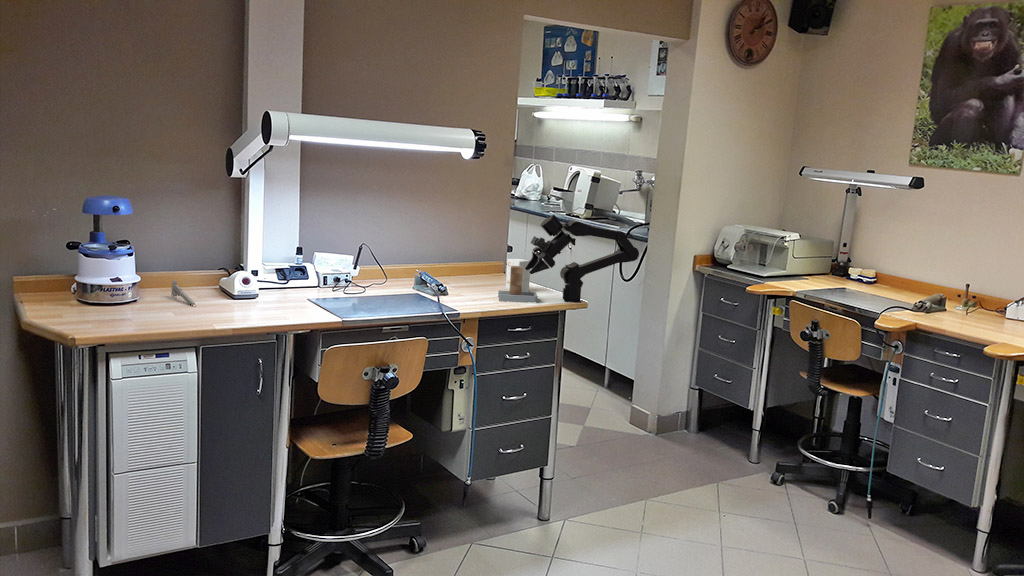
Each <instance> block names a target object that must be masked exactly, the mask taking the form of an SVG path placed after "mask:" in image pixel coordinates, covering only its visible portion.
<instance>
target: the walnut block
mask: <svg viewBox="0 0 1024 576" xmlns="http://www.w3.org/2000/svg"><path fill="white" fill-rule="evenodd" d="M522 275H523V267H522V266H511V272H510V290H508V291H509V295H521V292H522Z"/></svg>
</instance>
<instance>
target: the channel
mask: <svg viewBox="0 0 1024 576" xmlns="http://www.w3.org/2000/svg"><path fill="white" fill-rule="evenodd" d="M497 297H498V302H507V301H509V302H510V303H511V302H512V303H513V302H514V303H528V302H537V303H538V297H539V295H538V294H537V292H536V291H527V292H524V291H522V292H521V295H509V290H504V289H503V290H501V289H500V290H498V292H497Z"/></svg>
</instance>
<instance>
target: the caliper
mask: <svg viewBox="0 0 1024 576" xmlns="http://www.w3.org/2000/svg"><path fill="white" fill-rule="evenodd" d="M177 283H178V281H177V280H176V279H174V280H173V279H172V282H171V289H170V290H171V296H172V295H173V296H177V297H181V298H182V299H183V300H184V301H185V302H186V303H189V304H191V305H196V302H195V301H194V300H193V299H191V297H190V296H188V294H186V293H185V291H183V289H182V288H181V287H180V285H178V284H177ZM173 296H172V297H173ZM189 304H188V305H189ZM191 305H190V306H191Z"/></svg>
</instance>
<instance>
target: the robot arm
mask: <svg viewBox="0 0 1024 576" xmlns="http://www.w3.org/2000/svg"><path fill="white" fill-rule="evenodd" d="M540 227H541V228H542V229H543V230H544V231H545V233H546V234H547V235H548V236H549V237H552V236H553V238H552V239H551V240H547V241H546V239H545V238H544V237H537V236H535V235H533V238H531V241H530V244H531V245H533V246H535V247H534V248H533V249H532V251H531V258H530V260H528V261H529V263H528V264H527V266H526V267H525V269H526V270H529V269H530V272H529V273H530V275H534V274H537V273H539V272H543V271H545V270H549V269H552V268H553V267H554V266H556V260H555V259H554V258H555V257H557V255H560V254H561V253H562V251H563V250H564V249H565V248H566V247H567V246H569V244H570V245H572V246H576V241H577V240H576V238H575V237H596V238H601V239H602V238H603V239H607V240H613V241H615V243H616V245H617V247H618V249H617V250H615V251H614V252H613V253H610V254H607V255H604V256H603V257H599V258H596V259H594V260H590V261H588V262H585V263H582V264H579V263H577V262H576V261H574V262H571V263H569V264H565V265H564V267H562V268H561V269H560V271H559V274H560V278H561V280H563V281H564V287H563V289H562V300H563V301H564V302H567V303H568V302H569V303H582V300H581V297H582V296H581V294H582V288H583V285H584V282H583V281H582V278H583V277H584V276H586V275H588V274H590V273H594V272H596V271H600V270H602V269H605V268H607V267H611V266H614V265H615V264H618V263H619V264H621V263H622V264H623V263H630V262H635V261H636V260H638V259H639V256H640V252H639V249H638V248H637V247H635V246H634V245H633V243H632V242H631V241H630V240H629V238H628V237H627V236H626V233H625V232H623V231H621V230H619V229H618V230H615V229H609V228H603V227H598V226H593V225H588V224H586V223H584V222H581V221H578V220H576V219H572V220H569V221H568V222H566V223H565V222H564V223H561V222H560V220H559V219H558V218H557V216H556V215H555V214H552V215H550V216H549V217H547V218H545V219H544V220H543V221H542V222H541V223H540ZM564 231H566V233H565V232H564ZM571 235H572V236H574V237H572V236H571ZM580 300H581V301H580Z"/></svg>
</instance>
